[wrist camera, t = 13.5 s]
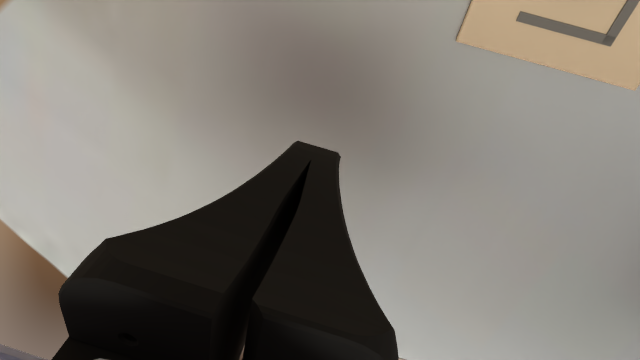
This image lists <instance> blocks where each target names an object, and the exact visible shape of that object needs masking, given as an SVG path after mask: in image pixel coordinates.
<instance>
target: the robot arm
mask: <svg viewBox="0 0 640 360" xmlns="http://www.w3.org/2000/svg"><path fill="white" fill-rule="evenodd" d="M340 158H341V157H340V155H339V153H338V152H334V151H331V150H327V149H324V148H321V147H317V146H314V145H310V144H307V143H303V142H300V141H297V142H295V143H293V144H292V145H291V146H290V147H289V148H288V149H287V150H286V151H285V152H284V153H283V154H282V155H281V156H279V157H278V158H277V159H276V160H275V161H274V162H272V163H271V164H270V165H269V166H267V167H266V168H265V169H264V170H262V171H261V172H260V173H258V174H257V175H256V176H254V177H253V178H251V179H250V180H248V181H247V182H245V183H244V184H243V185H241V186H240V187H238V188H237V189H235V190H233V191H232V192H230V193H228V194H227V195H225V196H223V197H221V198H220V199H218V200H216V201H214V202H212V203H210V204H208V205H206V206H204V207H202V208H200V209H198V210H196V211H193V212H191V213H189V214H187V215H184V216H182V217H179V218H177V219H174V220H171V221H168V222H166V223H163V224H160V225H157V226H154V227H150V228H147V229H144V230H140V231H136V232H132V233H128V234H124V235H120V236H116V237H112V238H107V239H105V240H104V241H103V242H102V243H101V244H100V245H99V246H98V247H97V248H96V249H94V250H93V251H92V252H91V253H90V254H89V255H88V256H87V257H86V258H85V259H84V260H83V262H82V263H81V264H80V265H79V266H78V267H77V269H76V270H75V271H74V272H73V273H72V274H71V276H70V277H69V278H68V279H67V280H66V281H65V283H64V284H63V285H62V287H61V289H60V291H59V303H60V307H61V310H62V314H63V317H64V321H65V324H66V327H67V331H68V333H69V337H68V339H67V340H66V341H65V343H64V344H63V345H62V347H61V348H60V349H59V351H58V352H57V353H56V355H55V356H54V357H53V359H52V360H239V359H240V356H241V353H242V350H243V348H244V352H243V358H242V360H399V358H398V349H397V342H396V336H395V331H394V329H393V327H392V326H391V324H390V322H389V321H388V319H387V318H386V316H385V315H384V313H383V311H382V310H381V308H380V306H379V304H378V303H377V301H376V299H375V297H374V295H373V293H372V291H371V290H370V288H369V286H368V283H367V281H366V279H365V277H364V274H363V272H362V270H361V268H360V266H359V263H358V261H357V258H356V256H355V253H354V250H353V247H352V244H351V241H350V238H349V234H348V231H347V227H346V223H345V219H344V214H343V209H342V203H341V196H340V188H339V162H340ZM244 345H245V346H244ZM0 360H47V359H44V358H41V357H38V356H35V355H32V354H29V353H26V352H23V351H20V350H16V349H14V348H10V347H8V346H5V345H1V344H0Z"/></svg>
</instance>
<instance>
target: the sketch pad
mask: <svg viewBox="0 0 640 360" xmlns="http://www.w3.org/2000/svg"><path fill="white" fill-rule="evenodd" d="M456 41H457V42H460V43H464V44H468V45H471V46H475V47H478V48H482V49H486V50H489V51H493V52H497V53H500V54H504V55H507V56H511V57H515V58H518V59H522V60H526V61H529V62H533V63H537V64H540V65H544V66H547V67H551V68H555V69H558V70H562V71H566V72H569V73H573V74H576V75H580V76H584V77H587V78H591V79H595V80H598V81H602V82H605V83H609V84H613V85H616V86H620V87H624V88H627V89H631V90H636V88H637V87H638V86H639V84H640V0H472V1H471V3H470V6H469V8H468V11H467V13H466V16H465V18H464V21H463V23H462V26H461V28H460V31H459V33H458V36H457V38H456Z"/></svg>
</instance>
